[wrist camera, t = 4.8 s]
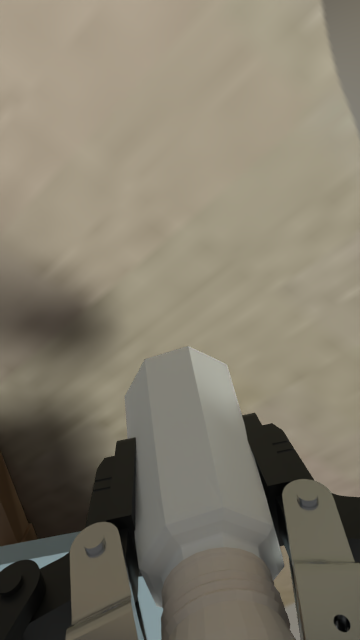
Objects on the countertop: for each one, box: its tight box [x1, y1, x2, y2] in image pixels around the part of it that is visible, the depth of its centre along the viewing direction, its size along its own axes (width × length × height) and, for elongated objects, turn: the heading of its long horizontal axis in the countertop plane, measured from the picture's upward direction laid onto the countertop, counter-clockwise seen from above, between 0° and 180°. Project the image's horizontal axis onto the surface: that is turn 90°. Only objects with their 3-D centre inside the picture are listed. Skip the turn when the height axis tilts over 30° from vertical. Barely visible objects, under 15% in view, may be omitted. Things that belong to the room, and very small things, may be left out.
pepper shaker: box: [125, 346, 296, 640], centre depth 11 cm, size 5×5×11 cm
